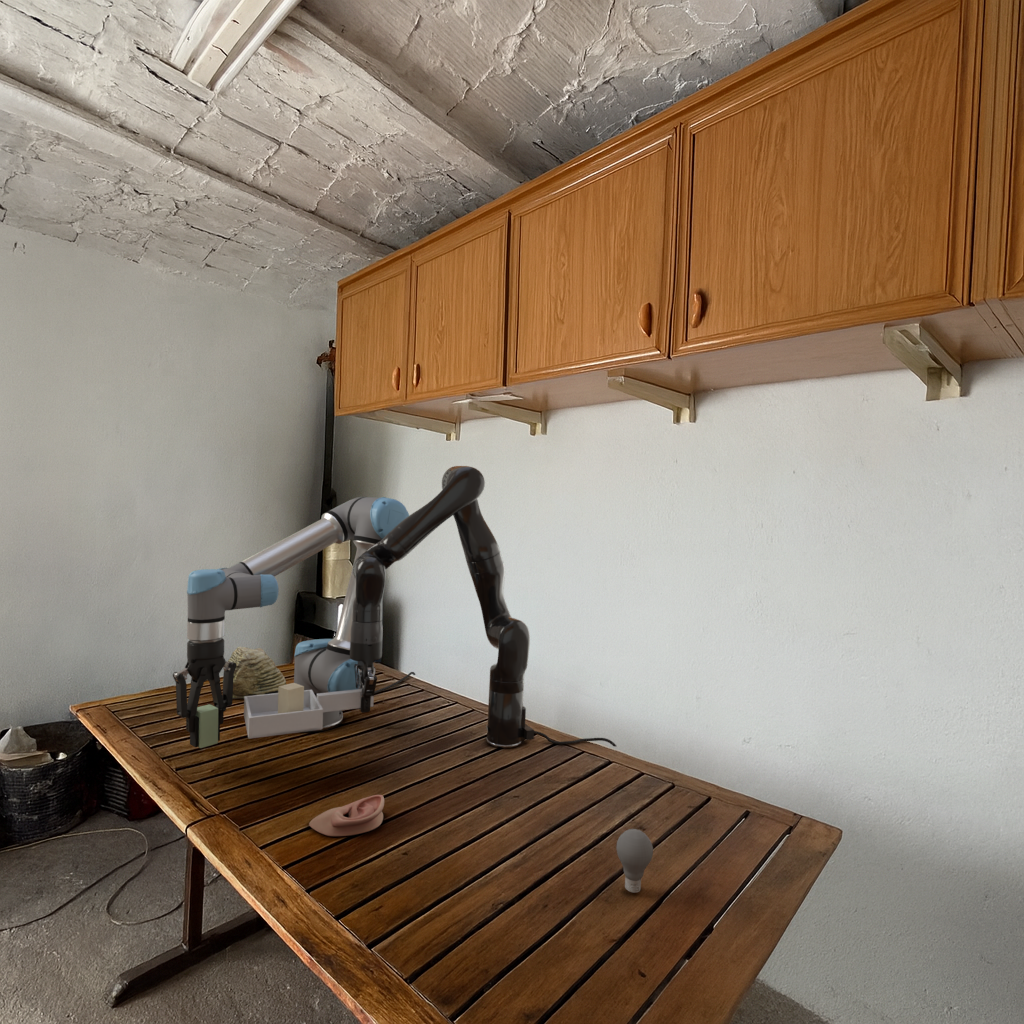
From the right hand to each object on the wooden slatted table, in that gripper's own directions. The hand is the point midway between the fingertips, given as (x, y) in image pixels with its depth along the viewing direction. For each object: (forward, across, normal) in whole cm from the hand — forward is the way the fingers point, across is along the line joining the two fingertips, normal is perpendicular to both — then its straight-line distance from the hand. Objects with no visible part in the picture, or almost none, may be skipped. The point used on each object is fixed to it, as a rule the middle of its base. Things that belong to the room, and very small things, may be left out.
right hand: (364, 710), depth 152 cm
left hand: (+5, -6, -34) cm, 35 cm away
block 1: (+6, -6, -34) cm, 35 cm away
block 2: (0, +1, -17) cm, 17 cm away
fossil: (+12, -61, -20) cm, 65 cm away
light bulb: (+13, +67, +30) cm, 74 cm away
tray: (+1, 0, -12) cm, 12 cm away
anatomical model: (+12, +28, -9) cm, 32 cm away
